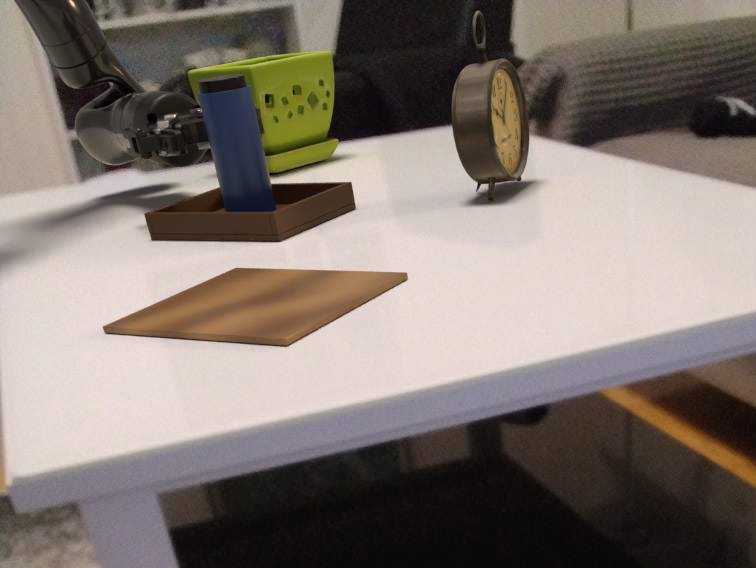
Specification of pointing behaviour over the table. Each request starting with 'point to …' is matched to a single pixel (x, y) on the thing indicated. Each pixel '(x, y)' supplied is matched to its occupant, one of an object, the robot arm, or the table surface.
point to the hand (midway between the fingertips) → (220, 135)
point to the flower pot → (287, 104)
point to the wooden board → (258, 305)
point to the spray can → (236, 144)
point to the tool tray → (252, 214)
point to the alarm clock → (490, 119)
